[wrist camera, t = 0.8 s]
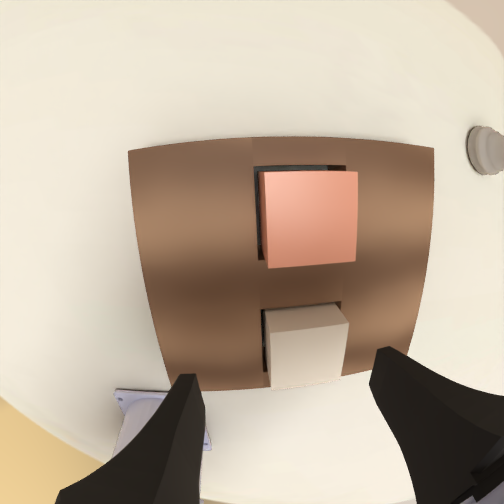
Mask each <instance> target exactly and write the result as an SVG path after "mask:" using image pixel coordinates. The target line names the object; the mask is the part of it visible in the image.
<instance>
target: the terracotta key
mask: <svg viewBox="0 0 504 504" xmlns="http://www.w3.org/2000/svg"><path fill="white" fill-rule="evenodd" d="M257 178H258V198H259V219H260V241H261V250H262V252H263V255H264V258H265V261H266V263H267V266H268V269H269V268H282V267H295V266H307V265H319V264H331V263H342V262H353V261H355V260H356V243H357V219H358V172H355V171H340V170H283V171H257Z"/></svg>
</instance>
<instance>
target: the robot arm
mask: <svg viewBox="0 0 504 504" xmlns="http://www.w3.org/2000/svg"><path fill="white" fill-rule="evenodd" d="M369 386H370V389H371V391H372V394H373V397H374V399H375V402H376V404H377V406H378V408H379V409H380V411H381V413H382V415H383V417H384V418H385V420H386V422H387V424H388V425H389V427H390V429H391V431H392V432H393V434H394V436H395V438H396V440H397V442H398V444H399V446H400V448H401V451H402V453H403V456H404V458H405V461H406V464H407V467H408V470H409V473H410V476H411V480H412V484H413V488H414V492H415V496H416V501H417V504H504V396H500V395H495V394H490V393H486V392H482V391H478V390H475V389H472V388H469V387H466V386H464V385H461V384H459V383H456V382H454V381H452V380H449V379H447V378H445V377H443V376H441V375H439V374H437V373H435V372H434V371H432V370H430V369H428V368H426V367H425V366H423V365H421V364H420V363H418V362H416V361H415V360H413V359H411V358H410V357H408V356H406V355H405V354H403V353H401V352H400V351H398V350H396V349H394V348H393V347H391V346H387V347H383V348H379V349H377V352H376V356H375V361H374V365H373V369H372V373H371V378H370V381H369ZM114 396H115V398H116V400H117V402H118V404H119V406H120V408H121V410H122V412H123V414H124V416H125V418H124V421H123V424H122V427H121V430H120V433H119V436H118V440H117V443H116V446H115V449H114V452H113V456H112V459H111V460H110V461H108V462H107V463H106V464H104V465H103V466H102V467H100V468H99V469H97V470H96V471H94V472H93V473H91V474H90V475H89V476H87V477H85V478H84V479H82V480H80V481H78V482H76V483H74V484H72V485H70V486H68V487H66V488H64V489H62V490H60V492H59V494H58V496H57V499H56V502H55V504H204V500H202V499H200V491H201V471H202V452H203V451H209V450H211V449H212V445H211V442H210V439H209V435H208V432H207V429H206V425H205V405H204V402H203V398H202V395H201V391H200V387H199V383H198V380H197V376H196V373H192V374H180V375H179V376H178V377H177V379H176V381H175V382H174V384H173V386H172V387H171V389H170V391H169V392H168V393H162V392H142V391H128V390H115V391H114Z"/></svg>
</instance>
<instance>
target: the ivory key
mask: <svg viewBox="0 0 504 504" xmlns="http://www.w3.org/2000/svg"><path fill="white" fill-rule="evenodd" d="M263 313H264V340H265V359H266V364H267V370H268V375H269V381H270V386H271V390H280V389H288V388H296V387H303V386H309V385H316V384H321V383H327V382H333V381H338V380H340V377H341V372H342V366H343V361H344V355H345V348H346V342H347V335H348V328H349V322H348V321H347V319H346V318H345V316H344V315H343V314H342V312H341V311H340V309H339V308H338V307H337V305H336V304H335V302H328V303H319V304H310V305H301V306H292V307H281V308H271V309H263Z"/></svg>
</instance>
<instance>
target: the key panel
mask: <svg viewBox="0 0 504 504" xmlns="http://www.w3.org/2000/svg"><path fill="white" fill-rule="evenodd" d="M128 161H129V174H130V186H131V196H132V205H133V213H134V221H135V228H136V235H137V242H138V248H139V254H140V260H141V266H142V271H143V277H144V282H145V287H146V292H147V296H148V301H149V305H150V310H151V314H152V318H153V323H154V327H155V331H156V335H157V338H158V342H159V346H160V350H161V353H162V357H163V360H164V364H165V367H166V371H167V374H168V377H169V380H170V383H171V387H172V386H173V384H174V382H175V381H176V379H177V377H178V376H179V375H180V374H192V373H196V376H197V380H198V383H199V387H200V391H224V390H241V389H254V388H265V387H271V386H270V381H269V375H268V370H267V364H266V359H265V347H262V336H261V313H260V309H271V308H281V307H292V306H301V305H310V304H319V303H328V302H335V304H336V305H337V307H338V308H339V309H340V311H341V312H342V314H343V315H344V316H345V318H346V319H347V321H348V322H349V328H348V335H347V342H346V348H345V355H344V361H343V366H342V372H341V376H345V375H350V374H355V373H359V372H364V371H368V370H372V369H373V365H374V361H375V356H376V352H377V349H379V348H383V347H387V346H391V347H393V348H394V349H396V350H398V351H400V352H401V353H403V354H405V355H406V356H407V353H408V350H409V346H410V343H411V339H412V336H413V332H414V328H415V324H416V320H417V316H418V311H419V307H420V302H421V297H422V292H423V287H424V282H425V276H426V270H427V263H428V256H429V248H430V240H431V230H432V218H433V202H434V148H430V147H424V146H417V145H410V144H403V143H394V142H386V141H376V140H364V139H351V138H333V137H248V138H230V139H216V140H205V141H194V142H185V143H177V144H169V145H161V146H155V147H148V148H142V149H136V150H130V151H128ZM276 165H328V170H340V171H355V172H358V219H357V243H356V260H355V261H353V262H342V263H331V264H319V265H307V266H295V267H282V268H269V269H268V266H267V263H266V261H265V258H264V255H263V252H262V250H261V245H257V227H256V206H255V187H254V167H253V166H276Z"/></svg>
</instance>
